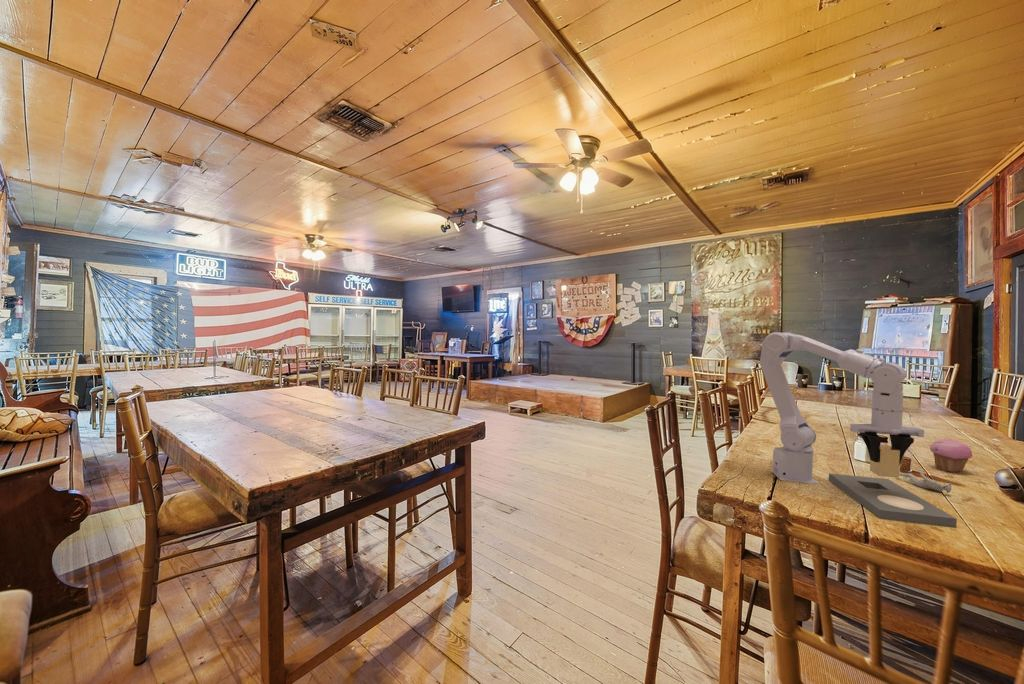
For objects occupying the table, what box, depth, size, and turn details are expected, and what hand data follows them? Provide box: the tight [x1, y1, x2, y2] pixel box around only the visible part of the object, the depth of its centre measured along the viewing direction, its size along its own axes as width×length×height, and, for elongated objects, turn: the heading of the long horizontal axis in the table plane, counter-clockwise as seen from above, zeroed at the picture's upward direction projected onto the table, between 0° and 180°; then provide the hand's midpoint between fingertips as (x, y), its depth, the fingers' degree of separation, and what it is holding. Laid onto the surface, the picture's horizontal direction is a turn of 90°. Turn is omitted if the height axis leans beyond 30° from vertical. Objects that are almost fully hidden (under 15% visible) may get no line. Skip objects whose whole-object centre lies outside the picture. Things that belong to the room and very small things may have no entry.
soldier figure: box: [899, 467, 952, 494], centre depth 110 cm, size 8×5×12 cm
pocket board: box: [828, 473, 958, 529], centre depth 101 cm, size 14×24×3 cm, turn 163°
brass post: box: [869, 444, 900, 479], centre depth 101 cm, size 4×4×7 cm
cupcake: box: [929, 438, 973, 473], centre depth 124 cm, size 9×9×10 cm
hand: (884, 461), depth 101 cm, fingers closed on brass post, 4 cm apart
